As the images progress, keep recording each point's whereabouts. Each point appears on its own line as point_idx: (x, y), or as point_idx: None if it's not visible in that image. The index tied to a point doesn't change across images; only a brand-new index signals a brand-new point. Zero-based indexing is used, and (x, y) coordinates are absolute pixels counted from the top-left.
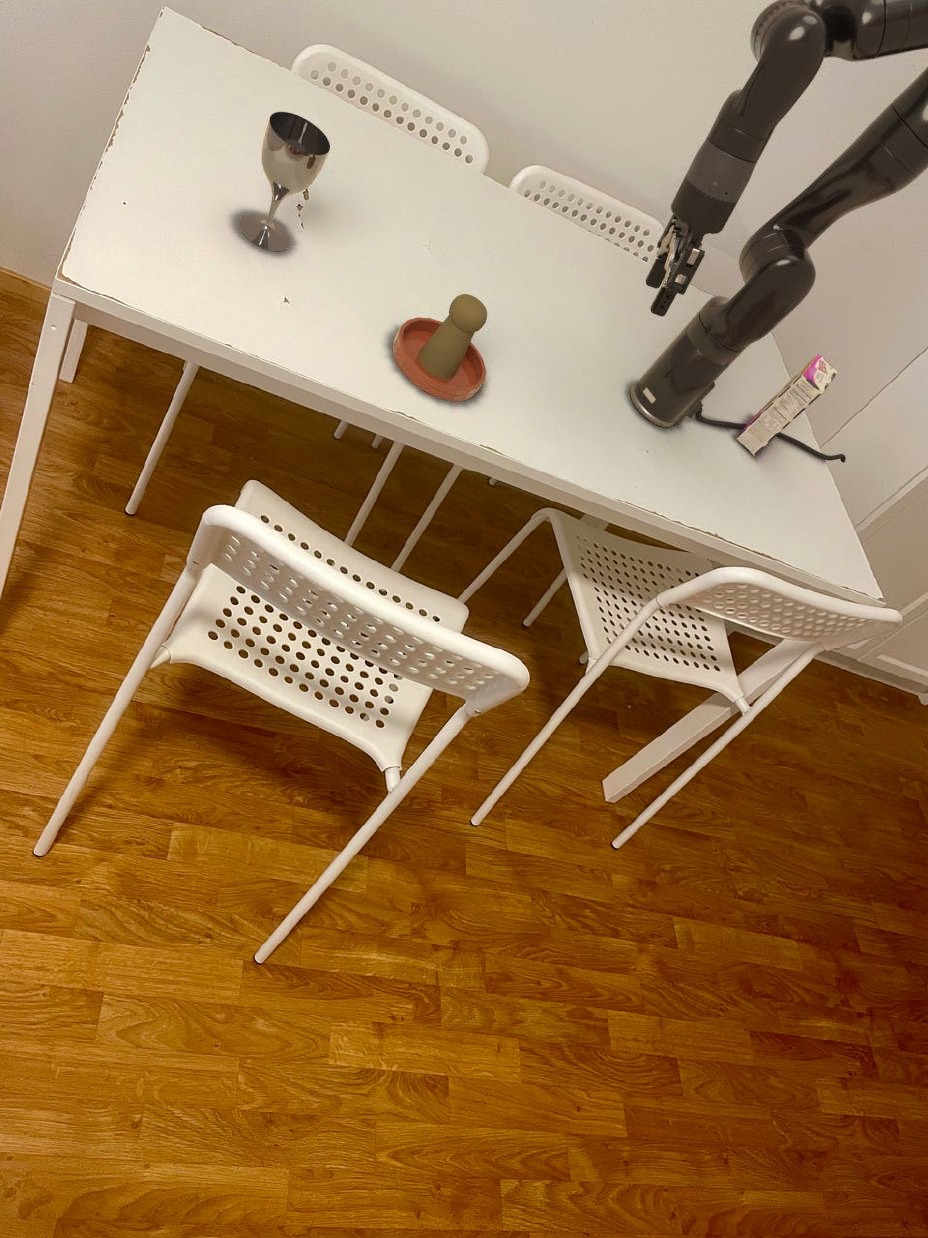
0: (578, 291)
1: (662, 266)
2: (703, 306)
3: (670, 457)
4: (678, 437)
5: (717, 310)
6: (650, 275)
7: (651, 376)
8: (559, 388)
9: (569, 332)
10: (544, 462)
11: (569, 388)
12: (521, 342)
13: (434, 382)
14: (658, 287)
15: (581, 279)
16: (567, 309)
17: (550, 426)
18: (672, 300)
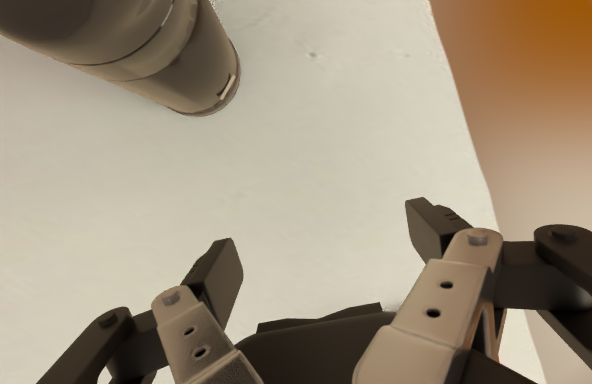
0: (47, 260)
1: (217, 296)
2: (68, 59)
3: (287, 12)
4: (223, 7)
5: (129, 4)
6: (237, 289)
7: (204, 99)
8: (313, 217)
9: (170, 241)
10: (475, 191)
11: (298, 204)
12: (275, 292)
13: (498, 362)
14: (230, 238)
15: (7, 265)
16: (117, 261)
17: (402, 204)
18: (445, 218)
